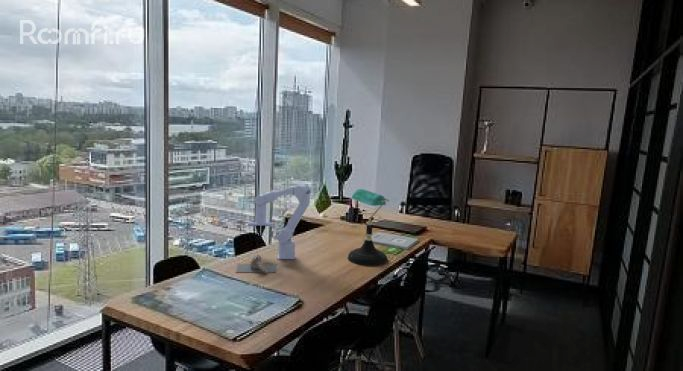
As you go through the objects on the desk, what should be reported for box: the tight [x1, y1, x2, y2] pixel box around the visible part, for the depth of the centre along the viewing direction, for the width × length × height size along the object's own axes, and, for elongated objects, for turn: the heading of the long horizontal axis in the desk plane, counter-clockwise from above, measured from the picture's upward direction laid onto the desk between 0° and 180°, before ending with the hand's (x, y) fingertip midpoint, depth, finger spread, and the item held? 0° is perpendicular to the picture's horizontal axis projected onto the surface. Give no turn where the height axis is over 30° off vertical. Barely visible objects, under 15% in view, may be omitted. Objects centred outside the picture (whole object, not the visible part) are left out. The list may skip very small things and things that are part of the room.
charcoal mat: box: [235, 263, 277, 274], centre depth 227 cm, size 20×12×1 cm, turn 99°
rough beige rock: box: [250, 254, 268, 274], centre depth 224 cm, size 6×14×7 cm, turn 34°
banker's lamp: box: [347, 188, 390, 267], centre depth 248 cm, size 26×23×40 cm
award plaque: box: [363, 231, 419, 251], centre depth 292 cm, size 25×30×2 cm
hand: (260, 238), depth 250 cm, fingers closed
